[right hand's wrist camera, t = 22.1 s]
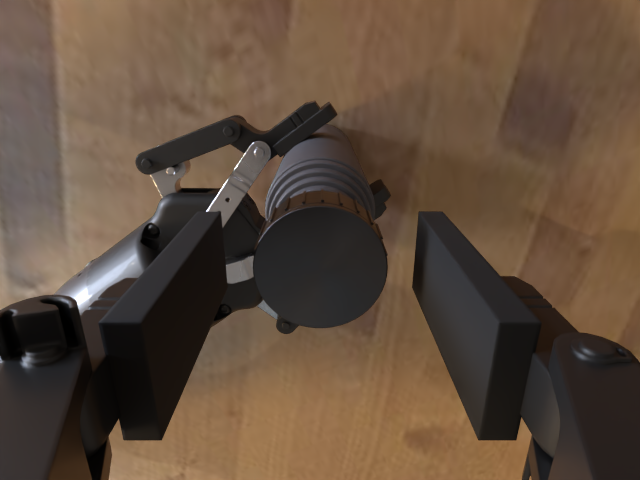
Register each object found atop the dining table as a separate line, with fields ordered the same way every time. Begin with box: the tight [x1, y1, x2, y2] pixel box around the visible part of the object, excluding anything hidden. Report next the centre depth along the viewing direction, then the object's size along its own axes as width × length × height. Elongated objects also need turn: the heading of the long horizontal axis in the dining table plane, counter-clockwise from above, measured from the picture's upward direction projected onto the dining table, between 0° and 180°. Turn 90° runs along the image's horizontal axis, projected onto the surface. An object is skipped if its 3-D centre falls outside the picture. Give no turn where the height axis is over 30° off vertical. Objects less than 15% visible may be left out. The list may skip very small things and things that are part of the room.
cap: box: [253, 189, 388, 328], centre depth 13 cm, size 4×4×2 cm
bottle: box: [265, 124, 375, 221], centre depth 22 cm, size 5×5×18 cm
